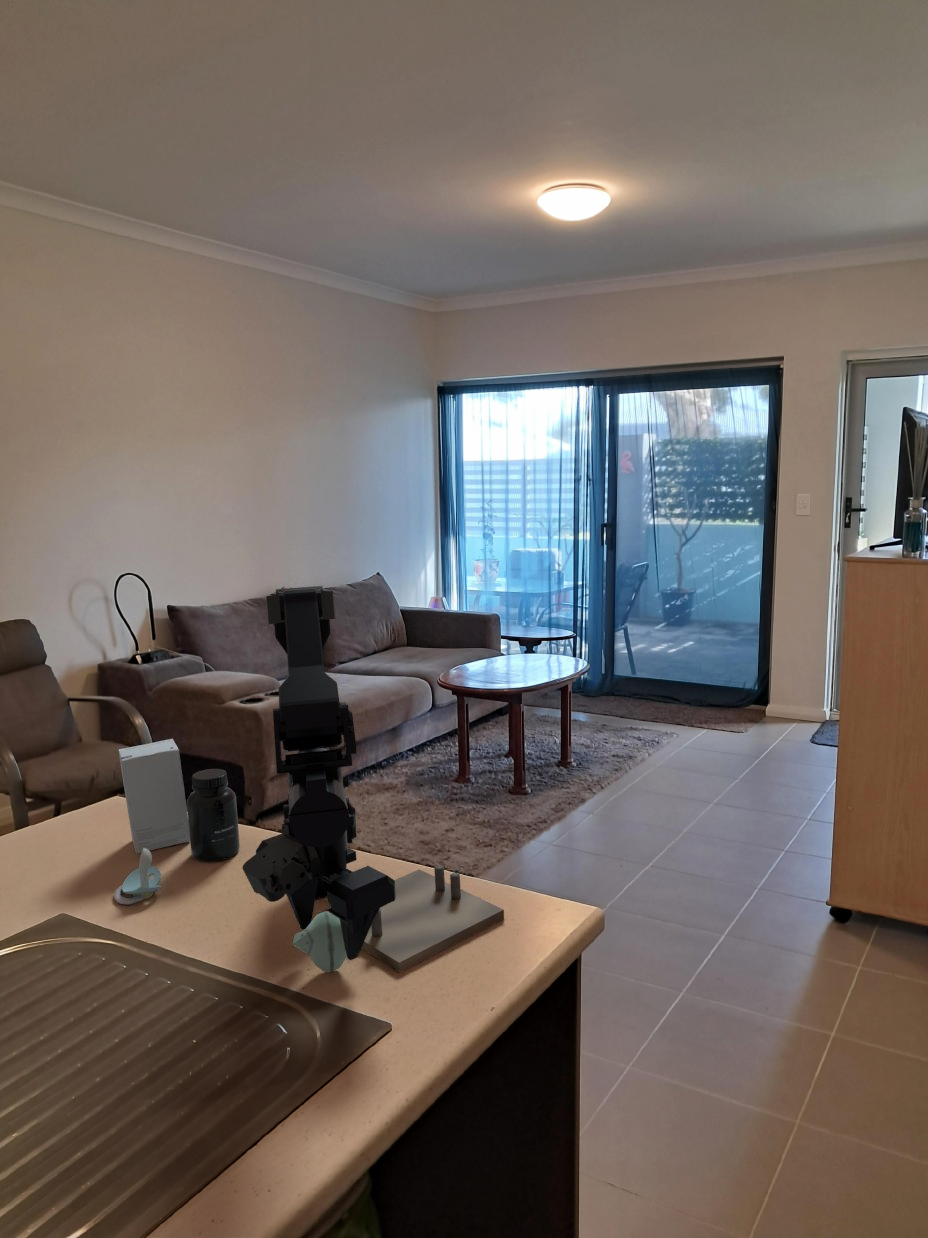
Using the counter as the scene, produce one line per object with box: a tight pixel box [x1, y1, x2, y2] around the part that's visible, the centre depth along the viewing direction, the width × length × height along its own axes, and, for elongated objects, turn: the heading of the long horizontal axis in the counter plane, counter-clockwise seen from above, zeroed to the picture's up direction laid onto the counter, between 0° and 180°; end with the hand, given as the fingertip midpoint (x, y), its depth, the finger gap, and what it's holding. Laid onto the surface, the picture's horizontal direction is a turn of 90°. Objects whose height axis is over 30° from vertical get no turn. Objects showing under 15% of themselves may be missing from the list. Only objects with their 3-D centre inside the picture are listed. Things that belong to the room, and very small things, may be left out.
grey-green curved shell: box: [292, 910, 347, 973], centre depth 103 cm, size 8×4×7 cm, turn 107°
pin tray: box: [317, 865, 505, 973], centre depth 113 cm, size 16×16×4 cm
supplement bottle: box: [186, 768, 241, 863], centre depth 134 cm, size 7×7×12 cm
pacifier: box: [113, 848, 162, 905], centre depth 123 cm, size 7×6×6 cm
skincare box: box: [118, 738, 190, 855], centre depth 139 cm, size 8×6×15 cm
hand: (328, 943), depth 103 cm, fingers open, 9 cm apart
